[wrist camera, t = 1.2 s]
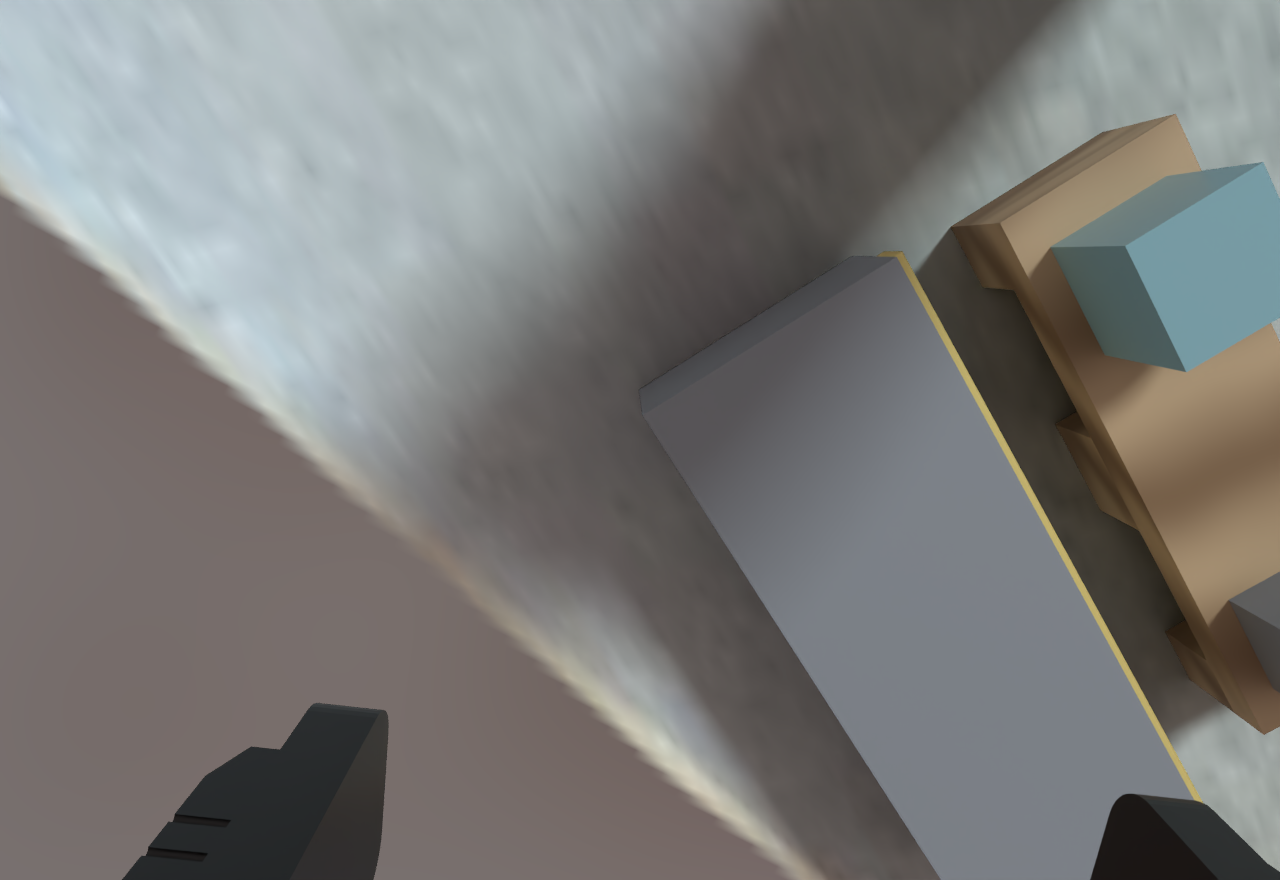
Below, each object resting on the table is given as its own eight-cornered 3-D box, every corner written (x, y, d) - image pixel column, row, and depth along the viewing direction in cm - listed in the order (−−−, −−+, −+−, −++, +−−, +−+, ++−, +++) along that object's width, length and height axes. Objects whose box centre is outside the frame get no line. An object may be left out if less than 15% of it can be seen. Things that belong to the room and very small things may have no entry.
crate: (1166, 175, 26) (1263, 162, 22) (1218, 287, 27) (1320, 293, 23) (1050, 247, 26) (1125, 245, 22) (1105, 355, 27) (1186, 372, 23)
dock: (859, 251, 30) (905, 251, 25) (1129, 737, 34) (1213, 817, 30) (638, 389, 31) (642, 415, 26) (930, 846, 35) (980, 940, 31)
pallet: (950, 226, 30) (999, 223, 26) (1102, 132, 29) (1175, 113, 25) (1190, 679, 34) (1263, 734, 30) (1327, 604, 33) (1420, 651, 30)
